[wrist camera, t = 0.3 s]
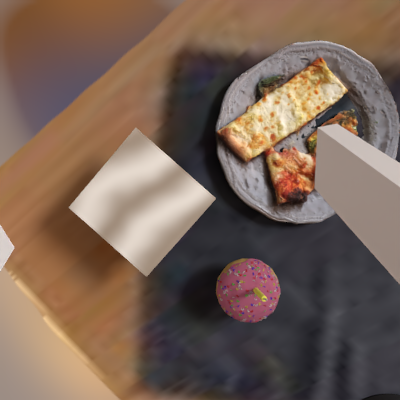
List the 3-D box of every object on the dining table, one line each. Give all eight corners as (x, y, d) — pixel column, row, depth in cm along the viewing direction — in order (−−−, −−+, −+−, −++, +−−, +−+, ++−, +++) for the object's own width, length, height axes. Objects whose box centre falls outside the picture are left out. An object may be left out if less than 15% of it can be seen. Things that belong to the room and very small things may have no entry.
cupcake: (239, 239, 45) (247, 260, 33) (285, 274, 45) (310, 307, 33) (204, 284, 46) (200, 320, 34) (250, 319, 46) (261, 367, 34)
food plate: (266, 249, 45) (271, 254, 42) (185, 113, 45) (183, 107, 42) (418, 161, 44) (436, 158, 40) (335, 20, 44) (346, 6, 40)
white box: (216, 195, 45) (215, 198, 37) (158, 260, 46) (146, 276, 38) (150, 137, 45) (135, 127, 37) (94, 203, 46) (68, 207, 38)
